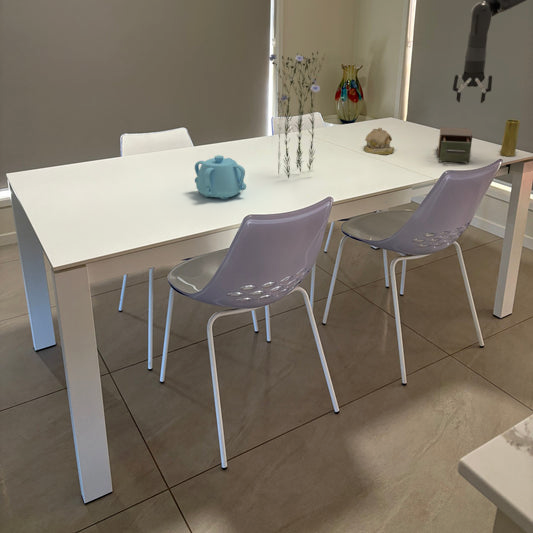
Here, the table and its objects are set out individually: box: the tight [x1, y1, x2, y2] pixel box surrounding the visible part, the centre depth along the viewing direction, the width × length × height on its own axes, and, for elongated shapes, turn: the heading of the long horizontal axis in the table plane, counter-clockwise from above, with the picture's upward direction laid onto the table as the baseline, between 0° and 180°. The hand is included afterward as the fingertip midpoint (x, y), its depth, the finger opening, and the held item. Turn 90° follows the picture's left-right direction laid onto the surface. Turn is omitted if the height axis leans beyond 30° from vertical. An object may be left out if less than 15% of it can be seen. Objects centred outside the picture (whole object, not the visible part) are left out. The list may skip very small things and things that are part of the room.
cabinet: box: [437, 126, 473, 158], centre depth 250 cm, size 15×13×10 cm
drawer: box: [439, 137, 472, 163], centre depth 240 cm, size 18×11×8 cm, turn 165°
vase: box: [499, 118, 521, 157], centre depth 246 cm, size 6×6×14 cm
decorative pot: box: [194, 154, 247, 200], centre depth 202 cm, size 16×16×14 cm
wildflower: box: [268, 51, 326, 179], centre depth 215 cm, size 22×23×45 cm
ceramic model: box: [363, 127, 395, 155], centre depth 255 cm, size 14×11×10 cm
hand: (470, 102), depth 233 cm, fingers open, 8 cm apart
